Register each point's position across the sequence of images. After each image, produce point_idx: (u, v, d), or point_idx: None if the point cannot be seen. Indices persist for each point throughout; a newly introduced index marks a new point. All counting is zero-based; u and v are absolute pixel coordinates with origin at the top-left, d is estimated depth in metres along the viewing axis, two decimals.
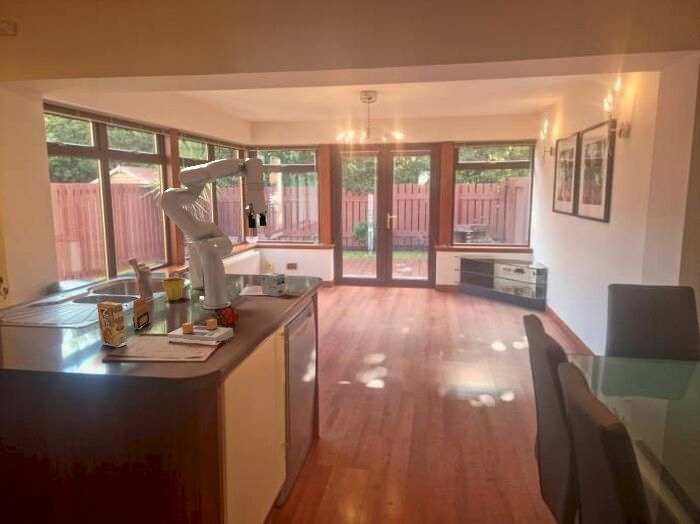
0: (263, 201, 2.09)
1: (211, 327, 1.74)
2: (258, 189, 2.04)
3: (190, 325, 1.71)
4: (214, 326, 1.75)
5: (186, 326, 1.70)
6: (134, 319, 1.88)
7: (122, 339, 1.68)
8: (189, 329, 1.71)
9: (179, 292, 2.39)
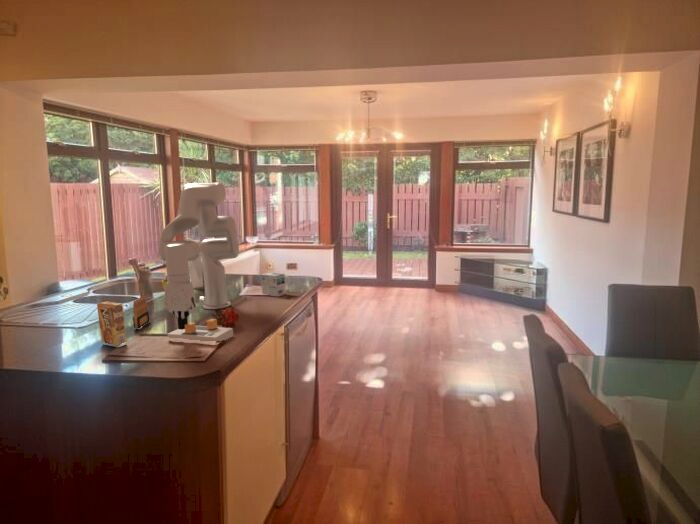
0: None
1: (211, 327, 1.74)
2: None
3: (193, 325, 1.71)
4: (214, 326, 1.75)
5: (189, 326, 1.70)
6: (134, 319, 1.88)
7: (122, 339, 1.68)
8: (192, 330, 1.71)
9: None
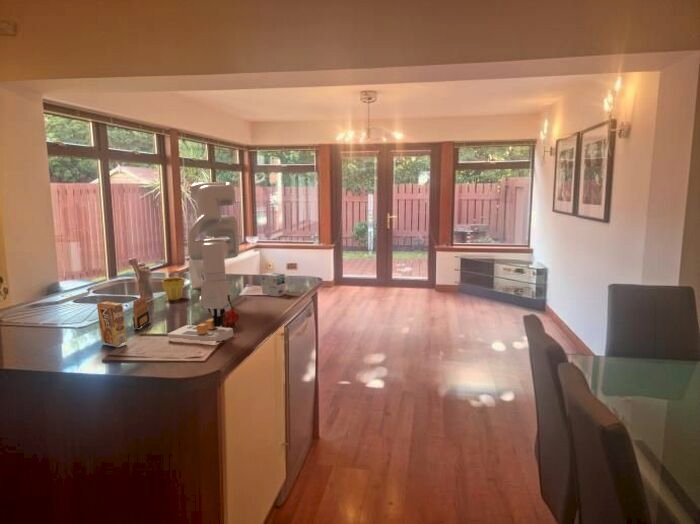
0: None
1: (210, 327, 1.74)
2: None
3: (205, 326, 1.70)
4: (213, 326, 1.75)
5: (201, 327, 1.68)
6: (134, 319, 1.88)
7: (122, 339, 1.68)
8: (204, 330, 1.69)
9: (179, 292, 2.39)
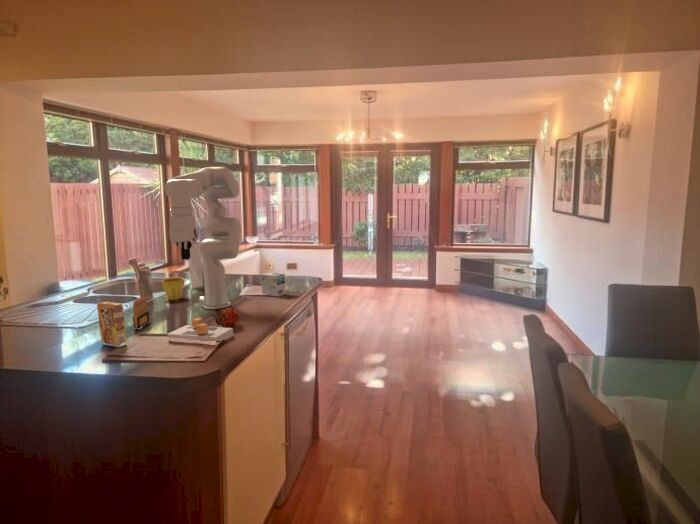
0: None
1: None
2: None
3: (205, 326, 1.70)
4: None
5: (201, 327, 1.68)
6: (134, 319, 1.88)
7: (122, 339, 1.68)
8: (204, 330, 1.69)
9: (179, 292, 2.39)
